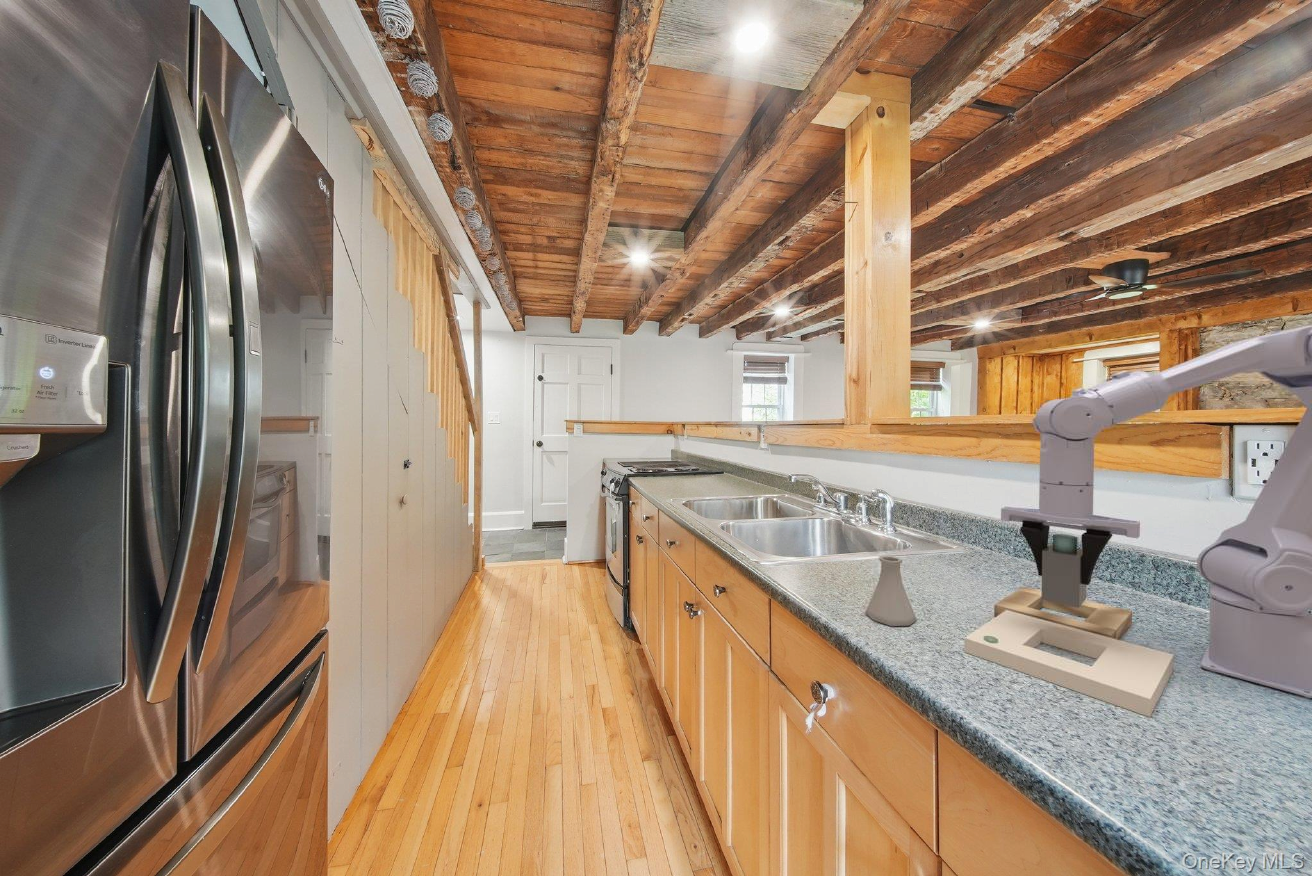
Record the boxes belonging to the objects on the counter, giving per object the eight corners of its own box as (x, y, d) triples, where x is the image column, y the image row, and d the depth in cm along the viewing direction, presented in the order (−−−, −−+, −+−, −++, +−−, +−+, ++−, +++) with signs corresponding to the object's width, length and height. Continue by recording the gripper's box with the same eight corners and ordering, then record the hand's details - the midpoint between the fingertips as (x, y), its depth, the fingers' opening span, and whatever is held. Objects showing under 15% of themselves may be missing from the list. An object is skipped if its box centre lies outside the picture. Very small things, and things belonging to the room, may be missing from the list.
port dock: (1173, 669, 60) (1173, 652, 60) (1149, 717, 50) (1150, 696, 50) (1006, 622, 74) (1006, 608, 74) (964, 651, 65) (964, 635, 65)
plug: (1086, 598, 66) (1087, 536, 66) (1079, 607, 63) (1080, 542, 62) (1049, 590, 69) (1051, 531, 69) (1041, 599, 66) (1042, 536, 65)
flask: (856, 613, 79) (856, 555, 78) (889, 606, 81) (889, 550, 81) (892, 630, 72) (892, 567, 72) (926, 623, 74) (926, 561, 74)
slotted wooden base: (1132, 623, 73) (1132, 610, 73) (1111, 649, 65) (1111, 635, 65) (1023, 597, 85) (1023, 586, 85) (994, 616, 76) (994, 604, 76)
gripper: (1143, 485, 62) (1141, 585, 62) (1011, 476, 73) (1009, 561, 74) (1137, 491, 58) (1134, 598, 58) (997, 480, 69) (995, 570, 69)
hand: (1063, 578), depth 66 cm, fingers closed on plug, 4 cm apart
